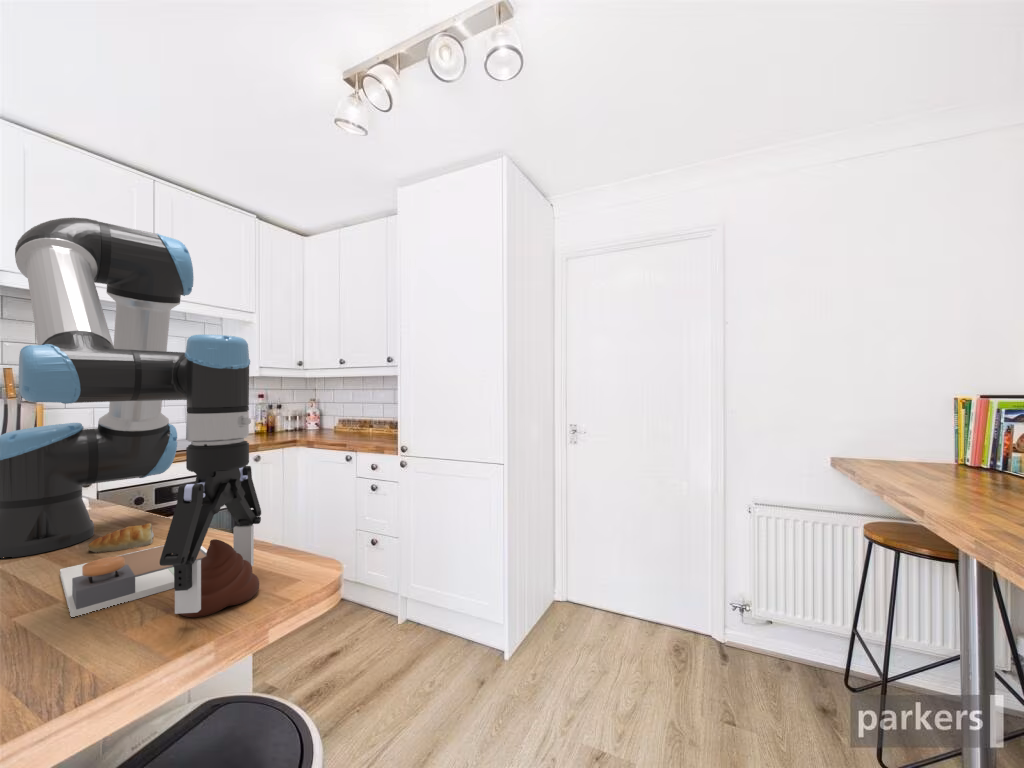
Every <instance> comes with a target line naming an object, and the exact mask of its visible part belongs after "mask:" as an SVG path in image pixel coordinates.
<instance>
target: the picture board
mask: <svg viewBox="0 0 1024 768" xmlns="http://www.w3.org/2000/svg"><path fill="white" fill-rule="evenodd" d="M164 545H165V544H164ZM164 545H163V544H162V545H158V546H155V547H154V546H153V547H149V548H147V549H143V550H142V549H141V550H138V551H132V552H129V553H124V554H120V555H118V556H121V557H124V558H125V565H124V567H122V568H121V569H119V570H117V571H115V578H111V579H107V580H104V581H100V582H96V583H92V576H83V575H82V567H83V566H84V565H85V564H87V563H88V562H86V563H81V564H77V565H72V566H68V567H64V568H60V569H59V576H60V577H59V578H60V580H61V584H62V588H63V593H64V596H65V599H66V600H65V601H66V604H67V609H68V608H69V609H68V612H70V613H69V616H71V617H75V616H78V615H81V616H83V615H82V614H85V615H87V614H86V613H88V614H90V613H89V612H92V611H95V612H97V611H96V610H98V611H101V610H100V609H102V608H105V609H108V608H111V607H110V606H112V607H114V606H113V605H115V606H118V605H117V604H119V605H121V604H120V603H122V604H125V603H129V602H133V601H135V600H138V599H141V598H145V597H146V598H147V597H149V596H151V595H155V594H158V593H162V592H166V591H168V590H172V589H174V566H173V565H168V566H161V565H160V558H161V555H162V551H163V548H164ZM207 550H208V549H207V548H205V547H204V546H203V545H202V546H201V548H200V551H199V553H198V556H197V558H196V560H201V559H202V558H204V557H205V556H207V555H206V553H207ZM172 554H173V553H172ZM128 601H129V602H128ZM124 602H125V603H124ZM107 607H108V608H107ZM102 610H103V609H102ZM92 613H93V612H92ZM71 617H70V618H71ZM78 617H79V616H78ZM75 618H76V617H75Z"/></svg>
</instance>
